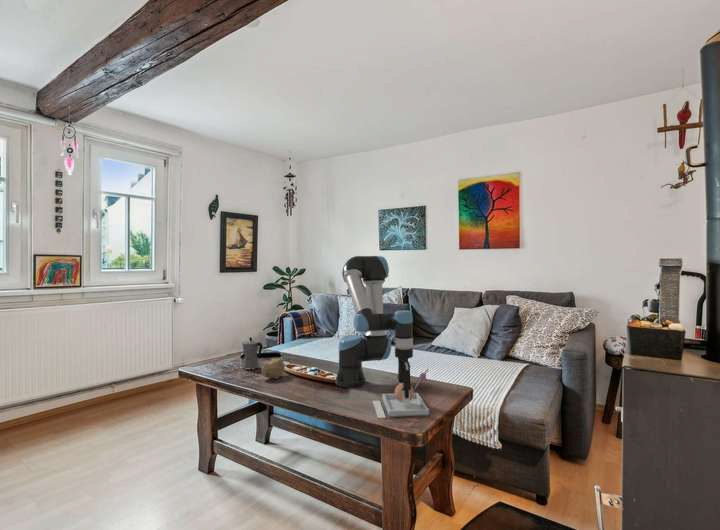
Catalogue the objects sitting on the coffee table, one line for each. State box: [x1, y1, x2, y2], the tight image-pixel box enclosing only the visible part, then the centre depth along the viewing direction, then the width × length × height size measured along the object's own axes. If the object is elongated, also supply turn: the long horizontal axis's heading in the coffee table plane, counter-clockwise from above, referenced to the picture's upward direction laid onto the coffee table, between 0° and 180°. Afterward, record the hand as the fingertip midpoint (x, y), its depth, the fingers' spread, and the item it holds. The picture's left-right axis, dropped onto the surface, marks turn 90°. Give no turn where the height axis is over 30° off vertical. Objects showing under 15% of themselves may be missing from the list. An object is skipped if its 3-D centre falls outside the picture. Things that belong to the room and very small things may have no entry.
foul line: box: [372, 400, 387, 419], centre depth 154 cm, size 18×3×1 cm, turn 4°
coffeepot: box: [241, 336, 264, 369], centre depth 218 cm, size 15×9×18 cm, turn 62°
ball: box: [394, 383, 415, 403], centre depth 157 cm, size 8×8×8 cm
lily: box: [413, 368, 432, 391], centre depth 181 cm, size 12×12×10 cm
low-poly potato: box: [260, 357, 286, 379], centre depth 199 cm, size 15×11×12 cm
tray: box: [381, 392, 430, 418], centre depth 157 cm, size 20×16×2 cm
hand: (404, 401), depth 157 cm, fingers closed on ball, 8 cm apart
